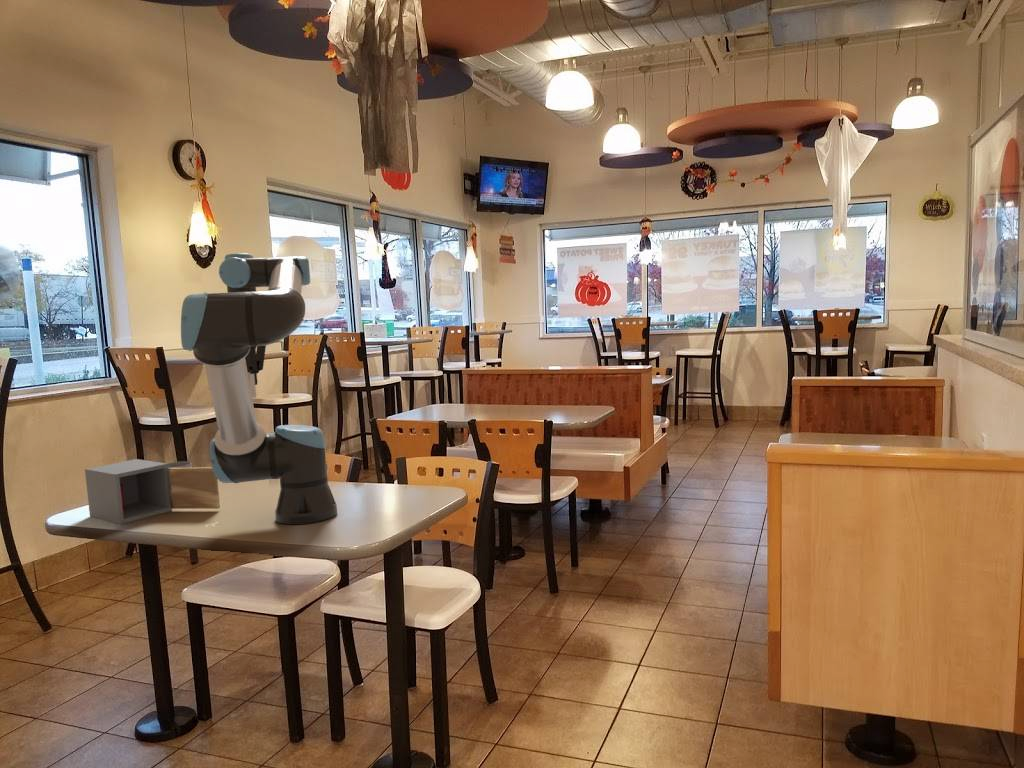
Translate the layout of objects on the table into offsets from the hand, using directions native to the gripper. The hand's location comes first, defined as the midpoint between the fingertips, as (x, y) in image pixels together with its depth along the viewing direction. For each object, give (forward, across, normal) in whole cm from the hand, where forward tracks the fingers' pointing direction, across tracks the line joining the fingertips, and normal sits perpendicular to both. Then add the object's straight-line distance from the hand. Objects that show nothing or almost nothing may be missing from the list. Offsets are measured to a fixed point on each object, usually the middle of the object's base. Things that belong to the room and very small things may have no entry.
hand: (251, 397), depth 201 cm
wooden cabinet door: (+29, +14, -8) cm, 33 cm away
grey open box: (+29, +25, -22) cm, 44 cm away
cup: (+30, +10, -26) cm, 41 cm away
